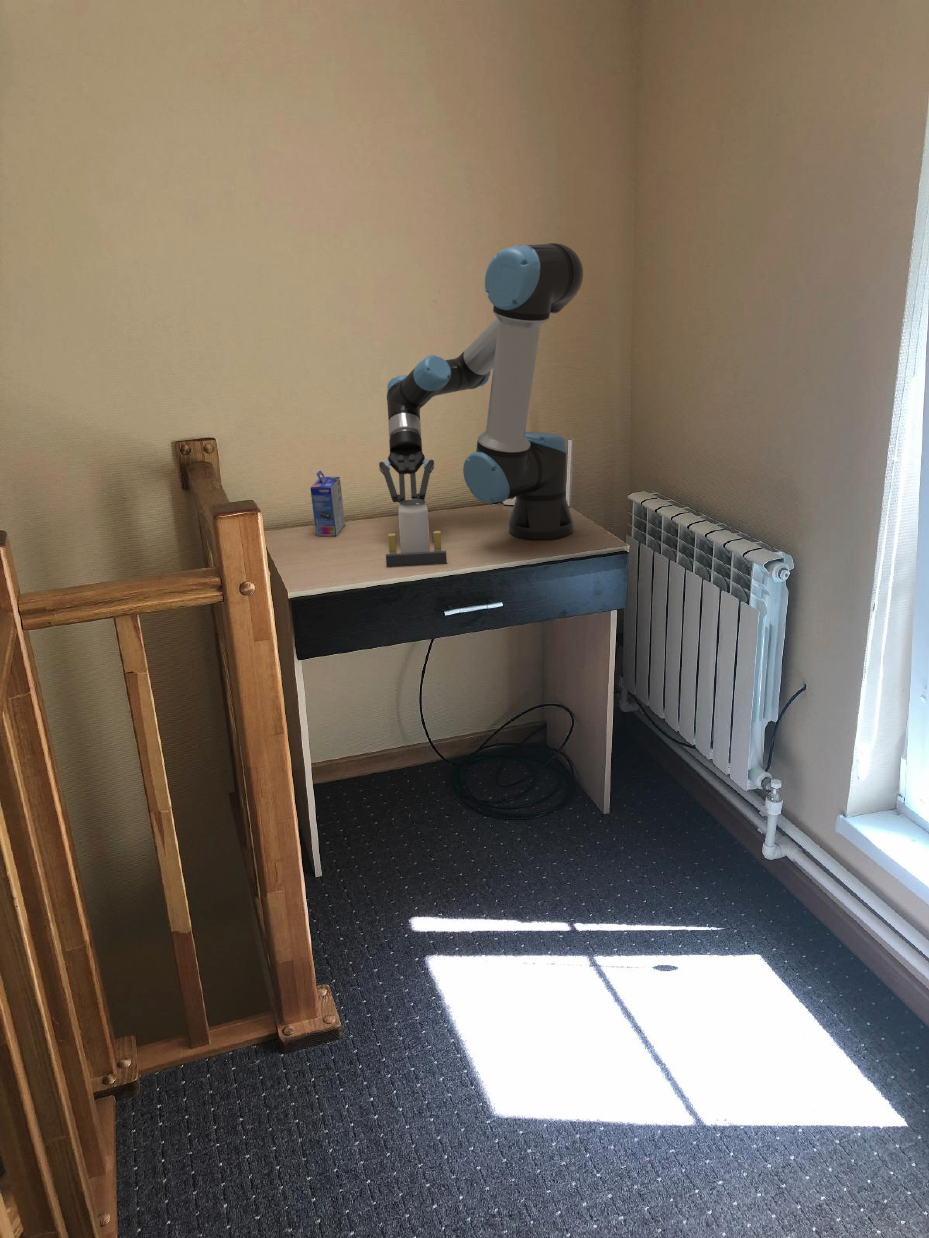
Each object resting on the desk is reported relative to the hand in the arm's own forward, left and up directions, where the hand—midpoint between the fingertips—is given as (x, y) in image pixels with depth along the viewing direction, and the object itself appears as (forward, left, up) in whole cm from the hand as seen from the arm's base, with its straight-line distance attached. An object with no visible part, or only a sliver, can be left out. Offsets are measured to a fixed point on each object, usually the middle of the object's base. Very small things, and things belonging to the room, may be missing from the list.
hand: (409, 527), depth 230 cm
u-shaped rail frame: (-1, +1, -5) cm, 5 cm away
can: (-1, +4, -5) cm, 7 cm away
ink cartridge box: (+19, -19, -5) cm, 27 cm away
